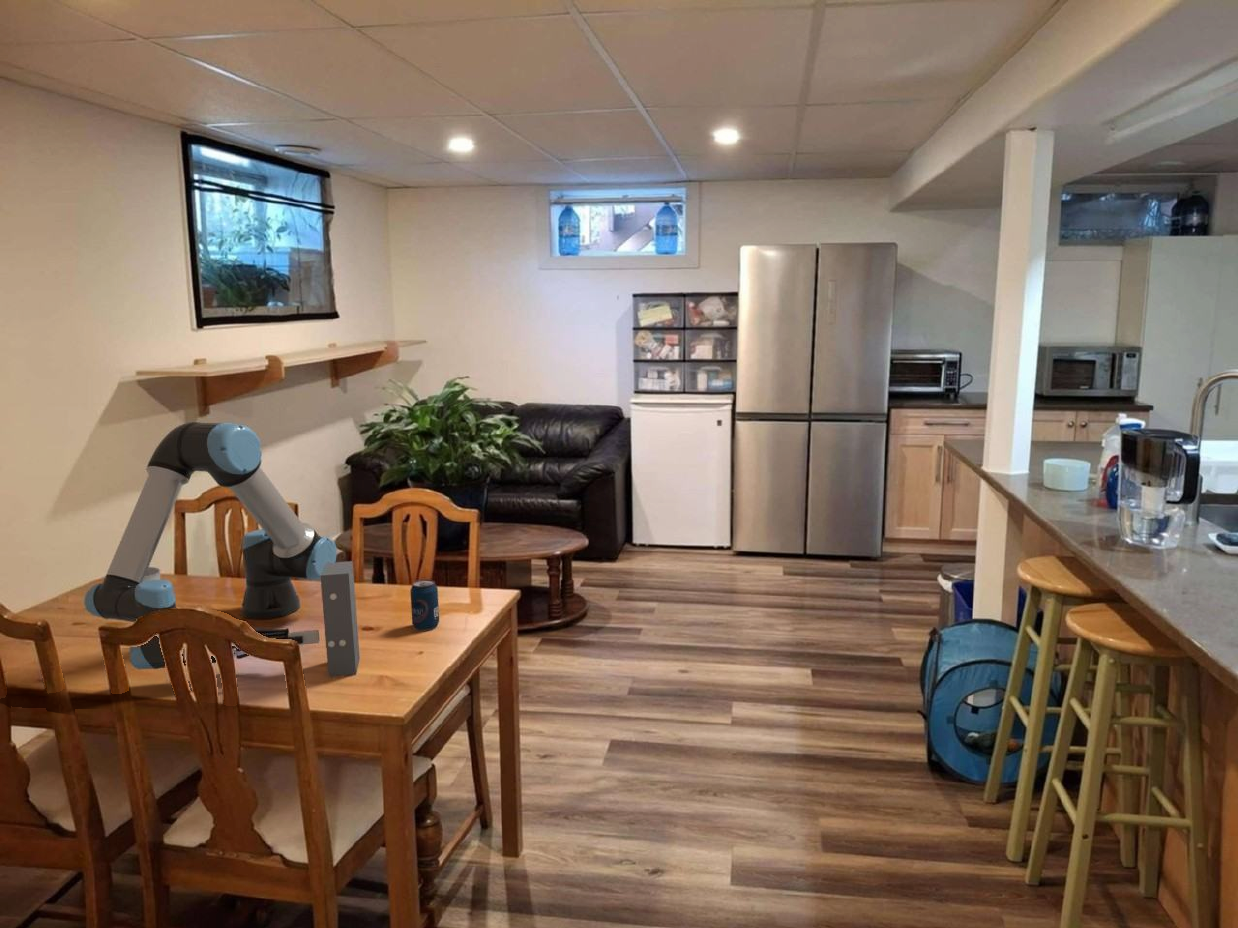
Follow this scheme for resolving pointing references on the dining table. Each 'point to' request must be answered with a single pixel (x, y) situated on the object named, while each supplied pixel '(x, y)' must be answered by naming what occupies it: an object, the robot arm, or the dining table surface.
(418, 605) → the soda can
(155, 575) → the teacup
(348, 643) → the post
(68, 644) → the dining table surface
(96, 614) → the robot arm
